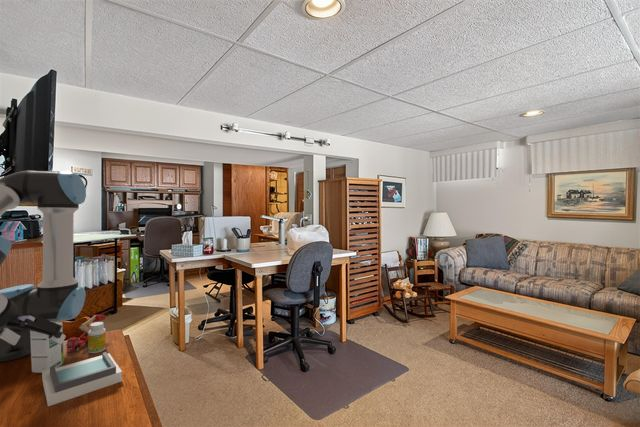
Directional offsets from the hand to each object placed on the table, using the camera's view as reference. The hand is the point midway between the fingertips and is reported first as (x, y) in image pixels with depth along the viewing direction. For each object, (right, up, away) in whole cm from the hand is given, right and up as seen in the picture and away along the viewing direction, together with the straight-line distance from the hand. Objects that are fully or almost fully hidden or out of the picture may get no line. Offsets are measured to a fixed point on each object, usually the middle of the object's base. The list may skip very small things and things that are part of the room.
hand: (39, 340), depth 99 cm
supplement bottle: (+6, -10, +16) cm, 20 cm away
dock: (+16, -11, -4) cm, 20 cm away
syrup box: (-1, -11, +3) cm, 11 cm away
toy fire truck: (-1, -10, +21) cm, 23 cm away
